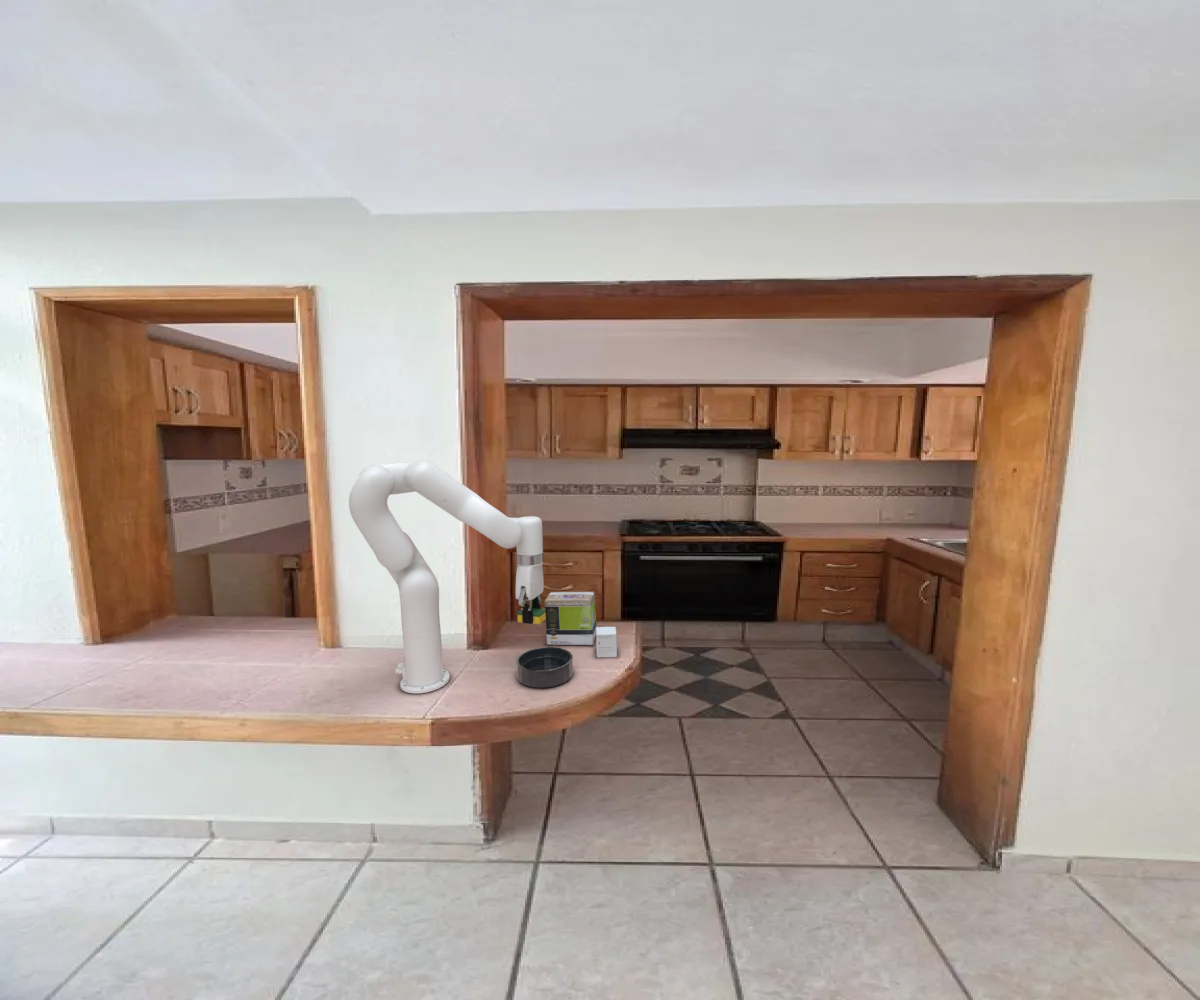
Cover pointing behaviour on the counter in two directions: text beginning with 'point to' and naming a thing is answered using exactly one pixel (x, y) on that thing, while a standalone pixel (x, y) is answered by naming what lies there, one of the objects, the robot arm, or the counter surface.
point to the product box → (606, 642)
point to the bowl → (544, 667)
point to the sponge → (534, 615)
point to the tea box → (570, 618)
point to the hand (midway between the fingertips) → (531, 619)
